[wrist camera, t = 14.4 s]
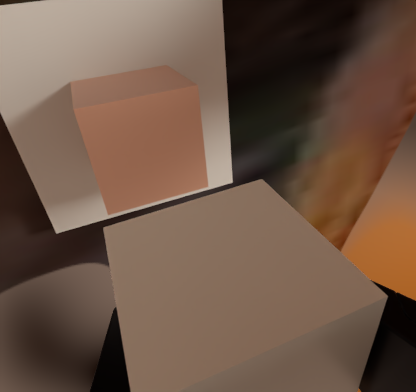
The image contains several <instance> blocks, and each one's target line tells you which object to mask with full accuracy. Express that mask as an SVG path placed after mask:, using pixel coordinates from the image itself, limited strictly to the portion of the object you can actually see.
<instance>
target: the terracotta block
mask: <svg viewBox="0 0 416 392" xmlns="http://www.w3.org/2000/svg"><path fill="white" fill-rule="evenodd" d="M70 84H71V93H72V102H73V110H74V113H75V116H76V119H77V122H78V125H79V128H80V131H81V134H82V137H83V141H84V144H85V147H86V150H87V153H88V156H89V159H90V162H91V165H92V168H93V171H94V174H95V177H96V180H97V183H98V186H99V189H100V192H101V195H102V198H103V201H104V204H105V207H106V210H107V213H108V215H111V214H114V213H118V212H121V211H125V210H128V209H132V208H136V207H139V206H143V205H146V204H150V203H153V202H157V201H160V200H164V199H167V198H171V197H174V196H178V195H181V194H185V193H188V192H192V191H195V190H199V189H202V188H206V187H208V177H207V168H206V158H205V148H204V139H203V129H202V120H201V110H200V101H199V91H198V85H197V84H195V83H194V82H192V81H191V80H189V79H188V78H186V77H184V76H183V75H181V74H180V73H178V72H177V71H175V70H173V69H172V68H170V67H169V66H167V65H164V66H158V67H152V68H147V69H141V70H135V71H129V72H124V73H118V74H112V75H106V76H101V77H95V78H89V79H83V80H78V81H72V82H70Z"/></svg>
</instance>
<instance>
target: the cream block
mask: <svg viewBox="0 0 416 392" xmlns="http://www.w3.org/2000/svg"><path fill="white" fill-rule="evenodd" d="M103 229H104V235H105V241H106V247H107V253H108V259H109V265H110V271H111V277H112V283H113V289H114V295H115V301H116V307H117V313H118V319H119V325H120V331H121V337H122V343H123V349H124V355H125V361H126V367H127V373H128V379H129V385H130V391H131V392H357V391H358V388H359V385H360V382H361V378H362V375H363V372H364V369H365V366H366V363H367V360H368V357H369V354H370V350H371V347H372V344H373V341H374V338H375V335H376V332H377V329H378V326H379V322H380V319H381V316H382V313H383V310H384V307H385V304H386V301H387V298H388V296H387V295H386V294H385V293H384V292H383V291H382V290H381V289H380V288H378V287H377V286H376V285H375V284H374V283H373V282H372V281H371V280H370V279H369V278H368V277H366V276H365V275H364V274H363V273H362V272H361V271H360V270H359V269H358V268H357V267H356V266H355V265H354V264H352V262H350V261H349V260H348V259H347V258H346V257H345V256H344V255H343V254H342V253H341V252H340V251H339V250H338V249H337V248H335V247H334V246H333V245H332V244H331V243H330V242H329V241H328V240H327V239H326V238H325V237H324V236H323V235H321V234H320V233H319V232H318V231H317V230H316V229H315V228H314V227H313V226H312V225H311V224H310V223H309V222H307V221H306V220H305V219H304V218H303V217H302V216H301V215H300V214H299V213H298V212H297V211H296V210H295V209H293V208H292V207H291V206H290V205H289V204H288V203H287V202H286V201H285V200H284V199H283V198H282V197H281V196H280V195H278V194H277V193H276V192H275V191H274V190H273V189H272V188H271V187H270V186H269V185H268V184H267V183H266V182H264V181H263V180H262V179H260V180H257V181H254V182H250V183H247V184H244V185H241V186H237V187H234V188H231V189H228V190H224V191H221V192H218V193H215V194H211V195H208V196H205V197H202V198H198V199H195V200H192V201H189V202H185V203H182V204H179V205H176V206H172V207H169V208H166V209H163V210H159V211H156V212H153V213H150V214H146V215H143V216H140V217H137V218H133V219H130V220H127V221H124V222H120V223H117V224H114V225H111V226H107V227H104V228H103Z"/></svg>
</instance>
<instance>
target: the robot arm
mask: <svg viewBox="0 0 416 392" xmlns="http://www.w3.org/2000/svg"><path fill="white" fill-rule="evenodd" d="M371 281H372V280H371ZM372 282H373V283H374V284H375V285H376V286H377V287H378V288H380V289H381V290H382V291H383V292H384V293H385V294H386V295H387V296H388V298H387V301H386V304H385V307H384V310H383V313H382V316H381V319H380V322H379V326H378V329H377V332H376V335H375V338H374V341H373V344H372V347H371V350H370V354H369V357H368V360H367V363H366V366H365V369H364V372H363V375H362V378H361V382H360V385H359V389H360V390H361V392H416V301H415V300H413V299H411V298H408V297H406V296H404V295H402V294H400V293H396V292H395V291H393V290H391V289H389V288H387V287H385V286H382V285H380V284H378V283H376V282H374V281H372ZM90 392H131V391H130V385H129V379H128V373H127V367H126V361H125V355H124V349H123V343H122V337H121V331H120V325H119V319H118V313H117V307H116V308H115V309H114V310H113V314H112V317H111V321H110V324H109V327H108V331H107V334H106V337H105V341H104V344H103V348H102V351H101V355H100V358H99V362H98V365H97V369H96V372H95V375H94V379H93V382H92V386H91V389H90Z"/></svg>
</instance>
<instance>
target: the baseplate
mask: <svg viewBox="0 0 416 392" xmlns="http://www.w3.org/2000/svg"><path fill="white" fill-rule="evenodd" d="M164 65H167V66H169V67H170V68H172V69H173V70H175V71H177V72H178V73H180V74H181V75H183V76H184V77H186V78H188V79H189V80H191V81H192V82H194V83H195V84H197V85H198V91H199V101H200V110H201V120H202V129H203V139H204V148H205V158H206V168H207V177H208V187H206V188H202V189H199V190H195V191H192V192H188V193H185V194H181V195H178V196H174V197H171V198H167V199H164V200H160V201H157V202H153V203H150V204H146V205H143V206H139V207H136V208H132V209H128V210H125V211H121V212H118V213H114V214H111V215H108V213H107V210H106V207H105V204H104V201H103V198H102V195H101V192H100V189H99V186H98V183H97V180H96V177H95V174H94V171H93V168H92V165H91V162H90V159H89V156H88V153H87V150H86V147H85V144H84V141H83V137H82V134H81V131H80V128H79V125H78V122H77V119H76V116H75V113H74V110H73V102H72V93H71V84H70V82H72V81H78V80H83V79H89V78H95V77H101V76H106V75H112V74H118V73H124V72H129V71H135V70H141V69H147V68H152V67H158V66H164ZM0 113H1V115H2V117H3V119H4V122H5V124H6V126H7V128H8V130H9V132H10V135H11V137H12V139H13V141H14V143H15V145H16V147H17V150H18V152H19V154H20V156H21V158H22V160H23V163H24V165H25V167H26V169H27V171H28V173H29V175H30V178H31V180H32V182H33V184H34V186H35V188H36V191H37V193H38V195H39V197H40V199H41V201H42V203H43V206H44V208H45V210H46V212H47V214H48V216H49V219H50V221H51V223H52V225H53V227H54V229H55V231H56V234H57V233H60V232H63V231H67V230H70V229H74V228H77V227H81V226H84V225H88V224H91V223H95V222H98V221H101V220H105V219H108V218H112V217H115V216H119V215H122V214H126V213H129V212H132V211H136V210H139V209H143V208H146V207H150V206H153V205H157V204H160V203H164V202H167V201H170V200H174V199H177V198H181V197H184V196H188V195H191V194H195V193H198V192H201V191H205V190H208V189H212V188H215V187H219V186H222V185H226V184H229V183H233V181H232V164H231V146H230V129H229V112H228V94H227V77H226V60H225V42H224V25H223V8H222V0H45V1H36V2H27V3H18V4H9V5H0Z"/></svg>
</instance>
